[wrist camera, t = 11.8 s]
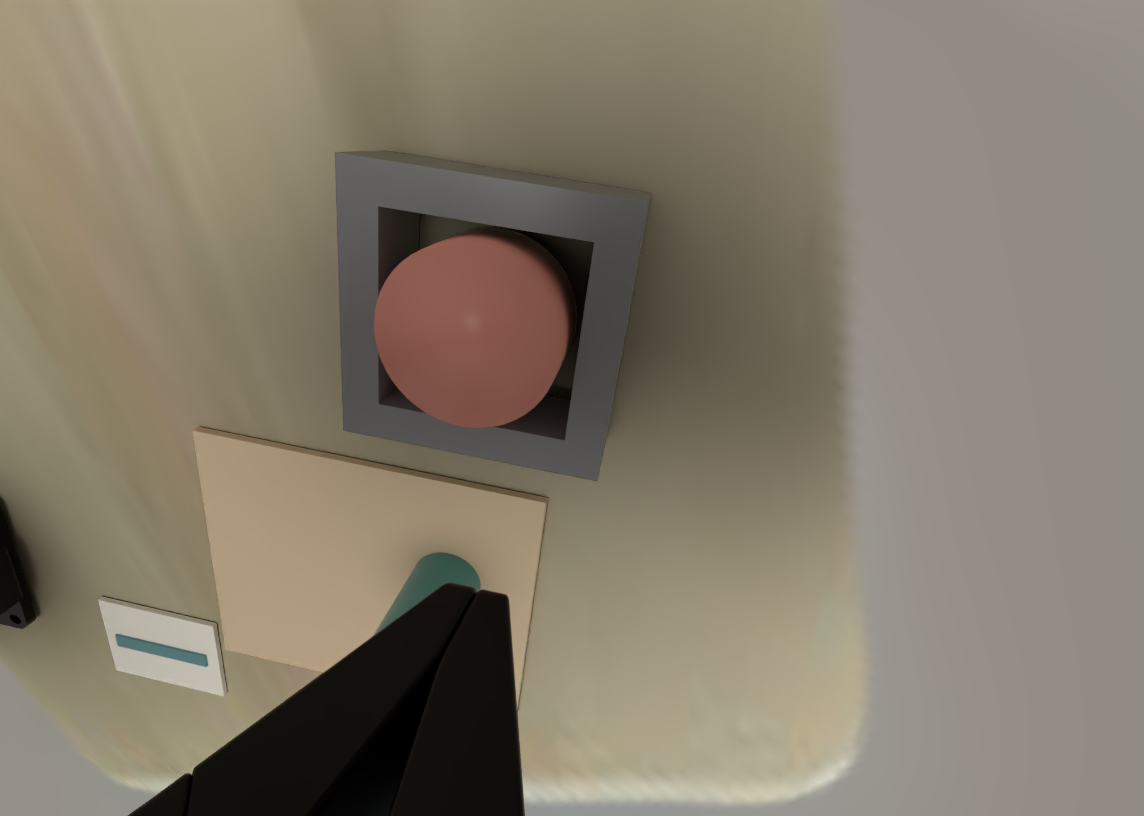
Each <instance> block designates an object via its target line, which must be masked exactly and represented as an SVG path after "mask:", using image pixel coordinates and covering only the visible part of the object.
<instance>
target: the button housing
mask: <svg viewBox="0 0 1144 816" xmlns="http://www.w3.org/2000/svg"><path fill="white" fill-rule="evenodd" d="M335 170H336V203H337V236H338V269H339V302H340V335H341V367H342V400H343V430H344V431H349V432H354V433H359V434H364V435H369V436H374V437H379V438H384V439H389V440H394V441H399V442H404V443H409V444H414V445H419V446H424V447H429V448H434V449H439V450H444V451H449V452H454V453H459V454H464V455H469V456H474V457H479V458H484V459H489V460H494V461H499V462H504V463H509V464H514V465H519V466H524V467H529V468H534V469H539V470H544V471H549V472H554V473H559V474H564V475H569V476H574V477H579V478H584V479H589V480H594V481H597V480H598V475H599V471H600V466H601V462H602V457H603V453H604V449H605V444H606V440H607V434H608V429H609V423H610V418H611V412H612V407H613V402H614V396H615V391H616V385H617V380H618V374H619V369H620V363H621V358H622V352H623V347H624V341H625V336H626V330H627V325H628V319H629V314H630V308H631V303H632V297H633V292H634V287H635V281H636V276H637V270H638V265H639V259H640V254H641V248H642V243H643V237H644V232H645V226H646V221H647V215H648V210H649V204H650V199H651V193H649V192H642V191H636V190H630V189H623V188H617V187H611V186H605V185H598V184H592V183H586V182H579V181H573V180H567V179H560V178H554V177H548V176H541V175H535V174H529V173H522V172H516V171H510V170H504V169H497V168H491V167H485V166H478V165H472V164H466V163H459V162H453V161H447V160H440V159H434V158H428V157H422V156H415V155H409V154H403V153H396V152H390V151H356V152H335ZM420 213H421V214H427V215H433V216H439V217H445V218H451V219H457V220H463V221H469V222H475V223H481V224H487V225H493V226H499V227H505V228H511V229H517V230H523V231H529V232H535V233H541V234H547V235H553V236H559V237H565V238H571V239H577V240H583V241H589V242H594V247H593V254H592V261H591V267H590V274H589V281H588V288H587V294H586V301H585V308H584V314H583V321H582V328H581V335H580V341H579V348H578V355H577V361H576V368H575V375H574V382H573V388H572V395H571V400H566V399H560V398H555V397H550V396H544V397H543V399H542V400H541V401H540V402H539V403H538V404H537V405H536V406H535V407H534V408H533V409H532V410H530V411H529V412H528V413H526V414H525V415H523V416H522V417H520V418H518V419H516V420H514V421H512V422H509V423H506V424H503V425H499V426H495V427H487V428H470V427H462V426H457V425H454V424H450V423H447V422H444V421H442V420H439V419H437V418H435V417H433V416H431V415H429V414H427V413H426V412H424V411H423V410H421V409H420V408H418V407H417V406H416V405H414V404H413V403H412V402H411V401H410V400H408V399H407V398H406V397H405V395H404V394H403V393H402V392H401V391H400V390H399V389H398V388H397V386H396V385H395V384H394V382H393V381H392V380H391V378H390V376H389V375H388V373H387V371H386V369H385V367H384V365H383V363H382V361H381V358H380V355H379V352H378V349H377V345H376V340H375V332H374V315H375V308H376V303H377V299H378V297H379V294H380V291H381V289H382V287H383V285H384V283H385V281H386V279H387V278H388V276H389V275H390V274H391V272H392V271H393V270H394V269H395V268H396V267H397V266H398V265H399V264H400V263H401V262H402V261H403V260H405V259H406V258H407V257H409V256H410V255H411V254H413V253H415V252H417V251H419V221H420Z"/></svg>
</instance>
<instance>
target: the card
mask: <svg viewBox="0 0 1144 816" xmlns="http://www.w3.org/2000/svg"><path fill="white" fill-rule="evenodd" d="M98 603H99V606H100V610H101V614H102V618H103V621H104V625H105V629H106V633H107V637H108V640H109V644H110V648H111V652H112V656H113V659H114V663H115V667H116V670H117V671H122V672H126V673H130V674H134V675H138V676H142V677H146V678H150V679H154V680H159V681H163V682H167V683H171V684H175V685H179V686H183V687H187V688H191V689H196V690H200V691H204V692H208V693H212V694H216V695H220V696H225V695H226V693H227V688H226V681H225V675H224V668H223V662H222V656H221V649H220V643H219V637H218V630H217V624H216V623H214V622H210V621H205V620H201V619H197V618H193V617H188V616H184V615H180V614H175V613H171V612H167V611H162V610H158V609H154V608H150V607H145V606H141V605H137V604H132V603H128V602H124V601H119V600H115V599H111V598H107V597H101V598H100V599H98Z"/></svg>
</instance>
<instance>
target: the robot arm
mask: <svg viewBox="0 0 1144 816" xmlns="http://www.w3.org/2000/svg"><path fill="white" fill-rule="evenodd" d="M35 619H36V615H35V612H34V609H33V606H32V603H31V600H30V596H29V593H28V590H27V587H26V584H25V581H24V578H23V575H22V572H21V569H20V566H19V563H18V560H17V557H16V554H15V551H14V547H13V544H12V541H11V538H10V535H9V532H8V529H7V526H6V523H5V520H4V517H3V514H2V511H1V508H0V624H3V625H7V626H11V627H15V628H22V629H23V628H25V627H27V626H28V625H29V624H31V623H32V622H33V621H35ZM128 816H525V810H524V796H523V783H522V769H521V755H520V741H519V728H518V714H517V700H516V686H515V673H514V659H513V645H512V631H511V618H510V604H509V598H508V596H507V595H506V594H502V593H498V592H493V591H489V590H484V589H482V590H479V591H478V592H477V590H476V589H475V588H473V587H470V586H466V585H461V584H456V583H452V582H449V583H446V584H443V585H442V586H441V587H439V588H438V589H436V590H435V591H434V592H432V593H431V594H430V595H428V596H427V597H426V598H424V599H423V600H421V601H420V602H419V603H417V604H416V605H415V606H413V607H412V608H411V609H409V610H408V611H407V612H405V613H404V614H402V615H401V616H400V617H398V618H397V619H396V620H394V621H393V622H392V623H390V624H389V625H387V626H386V627H385V628H383V629H382V630H381V631H379V632H378V633H377V634H375V635H374V636H373V637H371V638H370V639H368V640H367V641H366V642H364V643H363V644H362V645H360V646H359V647H358V648H356V649H355V650H353V651H352V652H351V653H349V654H348V655H347V656H345V657H344V658H343V659H341V660H340V661H339V662H337V663H336V664H334V665H333V666H332V667H330V668H329V669H328V670H326V671H325V672H324V673H322V674H321V675H319V676H318V677H317V678H315V679H314V680H313V681H311V682H310V683H309V684H307V685H306V686H305V687H303V688H302V689H300V690H299V691H298V692H296V693H295V694H294V695H292V696H291V697H290V698H288V699H287V700H285V701H284V702H283V703H281V704H280V705H279V706H277V707H276V708H275V709H273V710H272V711H271V712H269V713H268V714H266V715H265V716H264V717H262V718H261V719H260V720H258V721H257V722H256V723H254V724H253V725H251V726H250V727H249V728H247V729H246V730H245V731H243V732H242V733H241V734H239V735H238V736H237V737H235V738H234V739H232V740H231V741H230V742H228V743H227V744H226V745H224V746H223V747H222V748H220V749H219V750H217V751H216V752H215V753H213V754H212V755H211V756H209V757H208V758H207V759H205V760H204V761H203V762H201V763H200V764H198V765H197V766H196V767H195V768H194V770H193V774H192V775H191V774H190V773H186V774H184V775H183V776H182V777H180V778H179V779H178V780H176V781H175V782H173V783H172V784H171V785H169V786H168V787H167V788H165V789H164V790H163V791H161V792H160V793H158V794H157V795H156V796H154V797H153V798H152V799H150V800H149V801H148V802H146V803H145V804H143V805H142V806H141V807H139V808H138V809H136V810H135V811H134V812H132V813H131V814H129V815H128Z"/></svg>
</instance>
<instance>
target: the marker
mask: <svg viewBox="0 0 1144 816" xmlns="http://www.w3.org/2000/svg"><path fill="white" fill-rule="evenodd" d="M449 582H452V583H456V584H461V585H466V586H470V587H473V588H475V589H476V590H477V592H478V591H479V590H480V588H481V584H480V579H479V576H478V574H477V572H476V571H475V569H474V568H473V567H472V566H471V565H470V564H469V563H468V562H467V561H465V560H464V559H462V558H460V557H458V556H456V555H453V554H450V553H443V552H438V553H431V554H428V555H426V556H424V557H423V558H421V559H420V560H419V561H418V563H417V564H416V566H415V568H414V569H413V571H412V572H411V574H410V576H409V577H408V579H407V581H406V582H405V584H404V586H403V587H402V589H401V591H400V592H399V594H398V596H397V597H396V599H395V600H394V602H393V604H392V605H391V607H390V609H389V610H388V612H387V614H386V615H385V617H384V619H383V620H382V622H381V623H380V625H379V627H378V628H377V630H376V632H375V633H374V635H375V634H377V633H378V632H379V631H381V630H382V629H383V628H385V627H386V626H387V625H389V624H390V623H392V622H393V621H394V620H396V619H397V618H398V617H400V616H401V615H402V614H404V613H405V612H407V611H408V610H409V609H411V608H412V607H413V606H415V605H416V604H417V603H419V602H420V601H421V600H423V599H424V598H426V597H427V596H428V595H430V594H431V593H432V592H434V591H435V590H436V589H438V588H439V587H441V586H442V585H443V584H446V583H449ZM374 635H373V636H374Z"/></svg>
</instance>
